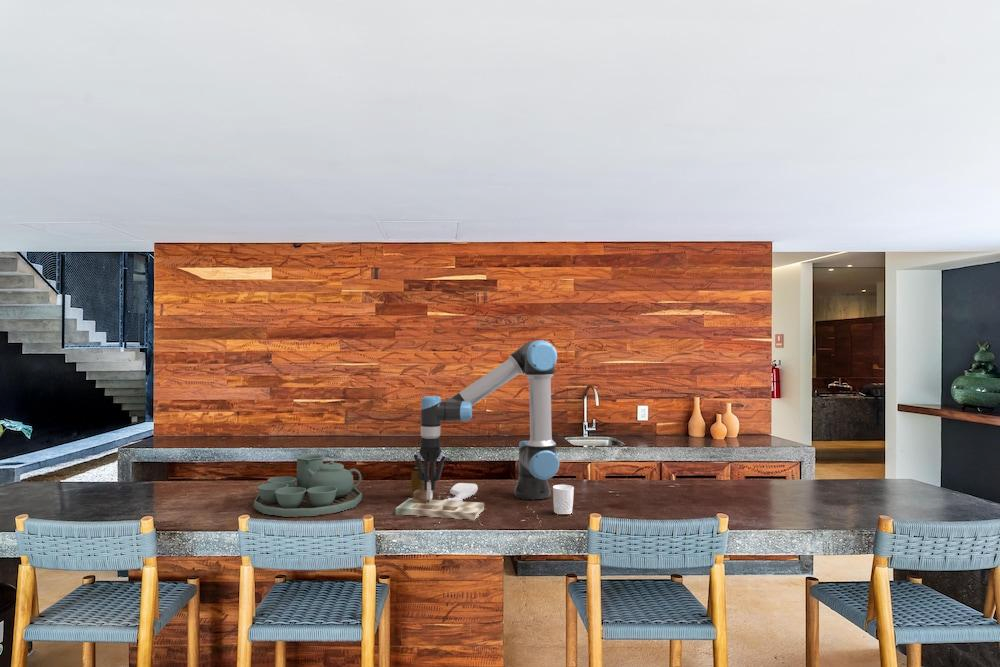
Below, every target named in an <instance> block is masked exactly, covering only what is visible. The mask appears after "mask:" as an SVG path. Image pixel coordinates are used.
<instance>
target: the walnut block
mask: <svg viewBox="0 0 1000 667" xmlns="http://www.w3.org/2000/svg"><path fill="white" fill-rule="evenodd" d="M429 501H430V500H427V490H421V489H417V490H416V491H415V492H413V503H422V504H426V503H427V502H429Z"/></svg>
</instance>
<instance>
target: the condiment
mask: <svg viewBox="0 0 1000 667" xmlns="http://www.w3.org/2000/svg"><path fill="white" fill-rule="evenodd" d="M422 467H423V471H424V466H422ZM410 478H411V481H410V482H411V483H410V484H411V486H410V495H411V497H413V492H415V491H416V490H417V489H421V490H425V482H424V481H423V480H420V477H419V473H418V468H417V466H414V467H412V474H411V476H410Z"/></svg>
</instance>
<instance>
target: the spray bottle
mask: <svg viewBox="0 0 1000 667" xmlns="http://www.w3.org/2000/svg"><path fill="white" fill-rule="evenodd" d="M478 488H479V487H478V485H477V484H476V483H468V482H467V483H466V482H458V483H456V484H454V485H453V486H452V487H451V488H450V490H449V493H450V495H451V494H453V495H452V496H454V495H455V496H454V497H447V498H444V499H443V500H447V501H463V502H464V500H467V499H469V498H471V496H472V495H473V496H475V494H476V493H477V492H478ZM473 496H472V497H473ZM468 497H469V498H468ZM466 498H467V499H466ZM463 499H464V500H463Z"/></svg>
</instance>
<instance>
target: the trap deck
mask: <svg viewBox="0 0 1000 667" xmlns="http://www.w3.org/2000/svg"><path fill="white" fill-rule="evenodd" d="M484 510H485V502H478V501H477V502H475V501H464V500H463V501H447V500H444V499H431V500H430V501H429V502H427V503H426V504H422V503H413V498H410V497H408V499H406V500H405V501H403V502H402V503H401V504H399V505H397V507H395V516H404V515H417V516H416V517H419V516H429V517H428V518H433V517H441V518H440V519H448V518H454V519H453V520H462V519H469V520H468V521H476V520H477V519H478V518H479V517H480V515H481V514H482V513H483V511H484ZM481 512H482V513H481ZM480 513H481V514H480ZM479 514H480V515H479ZM476 518H477V519H476ZM475 519H476V520H475Z"/></svg>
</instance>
